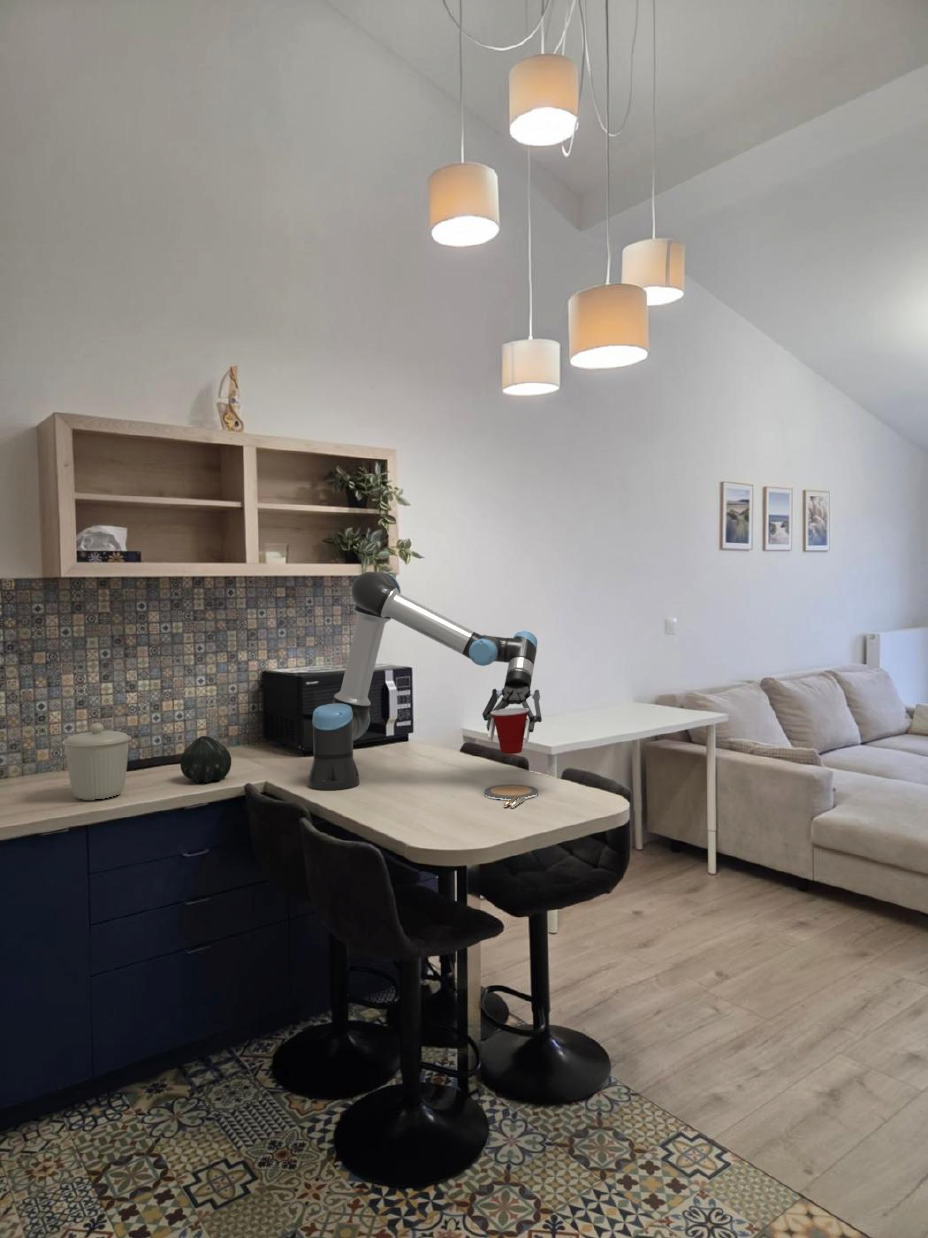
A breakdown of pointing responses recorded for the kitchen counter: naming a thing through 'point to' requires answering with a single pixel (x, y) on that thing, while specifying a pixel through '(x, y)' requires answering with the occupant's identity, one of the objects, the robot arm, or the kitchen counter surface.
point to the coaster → (510, 791)
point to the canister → (97, 762)
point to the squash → (205, 760)
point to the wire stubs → (513, 801)
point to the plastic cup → (510, 728)
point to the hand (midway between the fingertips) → (507, 740)
